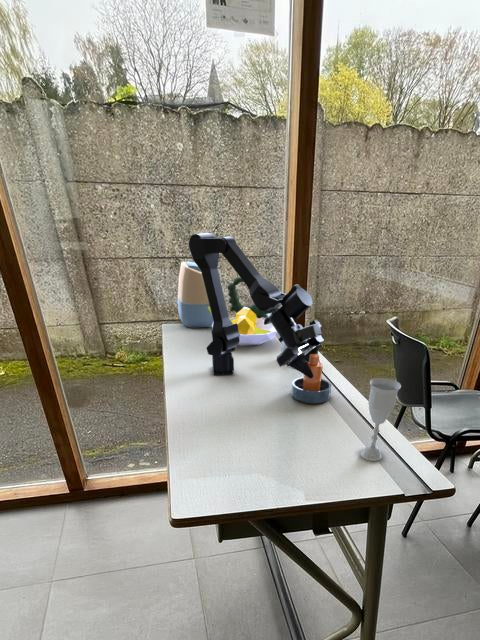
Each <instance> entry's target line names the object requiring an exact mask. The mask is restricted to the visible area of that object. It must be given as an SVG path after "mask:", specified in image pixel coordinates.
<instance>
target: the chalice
mask: <svg viewBox="0 0 480 640" xmlns="http://www.w3.org/2000/svg"><path fill="white" fill-rule="evenodd" d="M369 385H370V390H369V397H368V404H367V405H368V411H369V415H370V418H371V421H372V423H374V428H373V429H372V432H373V434H372V435H371V437H370V438H371V443H369V444H368V445H366V446H365V447H364V448H363V449H362V451H361V453H360V456H361V457H362V459H364V460H366V461H370V462H377V461H380V460H381V459H383V458H382V453H381V449H380V446H379V445H377V440H379V436H378V434H379V433H380V425H382V424H384V423H385V422H386V421H387V419H388V418H389V416H391V414H392V412H393V410H394V408H395V405H396V401H397V396H398V392H399V391H400V389H401V387H402V385H401V383H400V382H399V381H397V380H395V379H393V378H387V377H374V378H371V379H370V381H369Z"/></svg>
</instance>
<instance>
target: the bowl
mask: <svg viewBox="0 0 480 640" xmlns="http://www.w3.org/2000/svg"><path fill="white" fill-rule="evenodd" d="M303 379H304V376H303V377H298V378H296V379H294V380H292V383H291V397H292V398H293V399H295V400H296V401H299V402H301V403H305V404H311V405H312V404H314V405H315V404H316V405H317V404H321V403H325V402H328V401H329V400H330V399H331V396H332V383H331V382H330V381H328V380H326V379H324V378H321V384H320V391H308V390H303Z"/></svg>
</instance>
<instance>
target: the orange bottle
mask: <svg viewBox="0 0 480 640" xmlns="http://www.w3.org/2000/svg"><path fill="white" fill-rule="evenodd" d="M319 360H320V355H319V354H318V355H317V354H310V357H309V361H308V362H307V361H306V362H307V364H308V366H309V368H310V369H311V371H312V374H313V376H314V377H313V378H309V377H307V376H306V375H304V374H303V377H304V379H303V390H308V391H320V384H321V379H322V376H323V375H322V374H323V373H322V372H323V363H322V362H321V361H320V362H319Z"/></svg>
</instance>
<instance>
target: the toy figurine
mask: <svg viewBox="0 0 480 640" xmlns="http://www.w3.org/2000/svg"><path fill="white" fill-rule="evenodd" d="M240 283H244V281H243V280H242V279H241V278H240V276H238V277H235V278H234V279H233V281H232V282H229V283H228V285H227V290H228V292H227V295H228V297H229V299H228V303H229V304H230V306H229V311H230V312H234V313H235V314H236V313H238V312H239V311H240V310H241V309H242V308H244V307H246V308H249V309H251V310H252V311H253V312H254V313H255V314H256V317H257V318H260V319H262V318H265V314H268V313H271V312H272V311H273V310H274V309H276V308H280V307H281V305H279V306H278V307H276V308H273V309H270V310H267V311H260V310H259V309H258V308H257V307H256V306H255V304H254V302H253V303H251V304H250V305H248V304H247V305H244V304H242V303H241V301H240V297H239V296H238V291H237V286H239V285H240Z"/></svg>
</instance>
